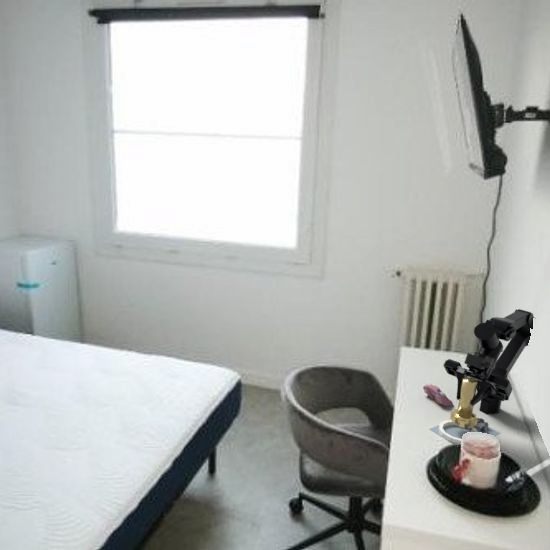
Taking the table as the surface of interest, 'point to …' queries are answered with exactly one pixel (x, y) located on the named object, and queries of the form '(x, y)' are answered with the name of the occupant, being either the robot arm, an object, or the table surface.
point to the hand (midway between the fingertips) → (464, 402)
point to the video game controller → (437, 395)
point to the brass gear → (466, 404)
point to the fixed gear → (480, 425)
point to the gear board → (456, 431)
